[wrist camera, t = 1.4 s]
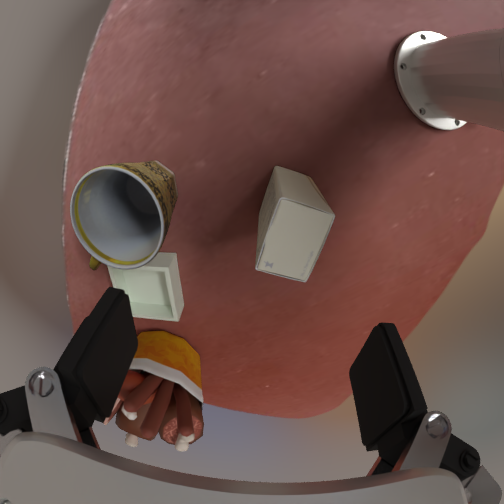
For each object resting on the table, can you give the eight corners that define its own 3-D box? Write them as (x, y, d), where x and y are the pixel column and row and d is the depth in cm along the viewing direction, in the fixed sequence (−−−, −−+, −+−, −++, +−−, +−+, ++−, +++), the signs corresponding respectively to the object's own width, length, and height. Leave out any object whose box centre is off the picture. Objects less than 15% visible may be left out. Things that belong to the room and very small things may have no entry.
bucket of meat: (191, 389, 51) (174, 476, 33) (116, 356, 47) (81, 440, 30) (237, 335, 42) (224, 456, 25) (138, 289, 38) (81, 402, 21)
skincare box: (293, 224, 32) (306, 286, 22) (256, 213, 32) (253, 272, 21) (312, 174, 29) (339, 216, 19) (273, 162, 29) (279, 196, 18)
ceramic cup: (141, 129, 27) (94, 143, 19) (209, 180, 30) (186, 213, 21) (95, 212, 32) (52, 249, 24) (153, 256, 35) (123, 304, 27)
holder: (176, 252, 35) (168, 267, 32) (184, 305, 39) (178, 321, 36) (118, 250, 35) (106, 264, 32) (131, 300, 39) (122, 315, 36)
